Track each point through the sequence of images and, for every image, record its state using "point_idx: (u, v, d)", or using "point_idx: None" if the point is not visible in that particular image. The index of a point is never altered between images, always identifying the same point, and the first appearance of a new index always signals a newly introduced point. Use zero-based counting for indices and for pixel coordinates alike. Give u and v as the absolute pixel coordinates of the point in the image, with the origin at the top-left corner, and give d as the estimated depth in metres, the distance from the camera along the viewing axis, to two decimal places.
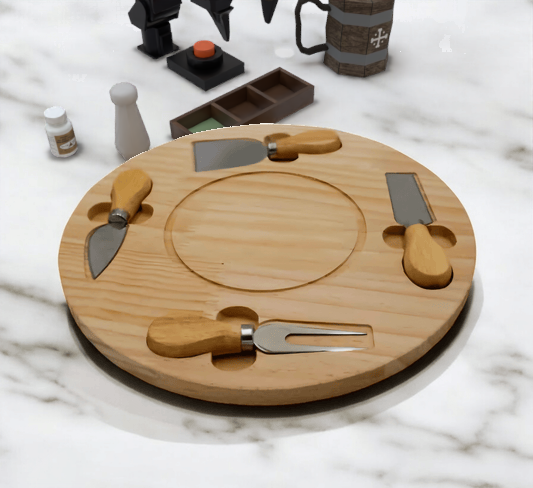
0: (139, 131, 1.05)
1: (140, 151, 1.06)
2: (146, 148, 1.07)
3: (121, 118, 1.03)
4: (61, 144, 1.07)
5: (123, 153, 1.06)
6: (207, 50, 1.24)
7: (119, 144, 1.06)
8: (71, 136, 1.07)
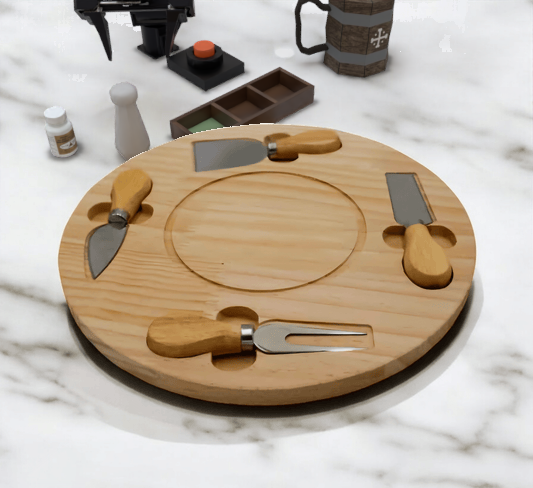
0: (139, 131, 1.05)
1: (140, 151, 1.06)
2: (146, 148, 1.07)
3: (121, 118, 1.03)
4: (61, 144, 1.07)
5: (123, 153, 1.06)
6: (207, 50, 1.24)
7: (119, 144, 1.06)
8: (71, 136, 1.07)
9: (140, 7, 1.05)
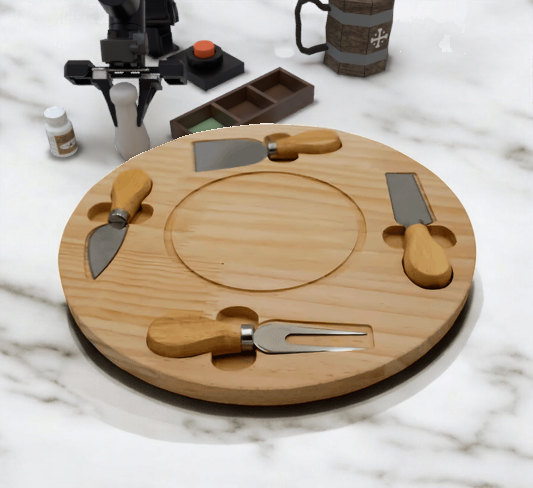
0: (139, 131, 1.05)
1: (140, 151, 1.06)
2: (146, 148, 1.07)
3: (121, 118, 1.03)
4: (61, 144, 1.07)
5: (123, 153, 1.06)
6: (207, 50, 1.24)
7: (119, 144, 1.06)
8: (71, 136, 1.07)
9: None
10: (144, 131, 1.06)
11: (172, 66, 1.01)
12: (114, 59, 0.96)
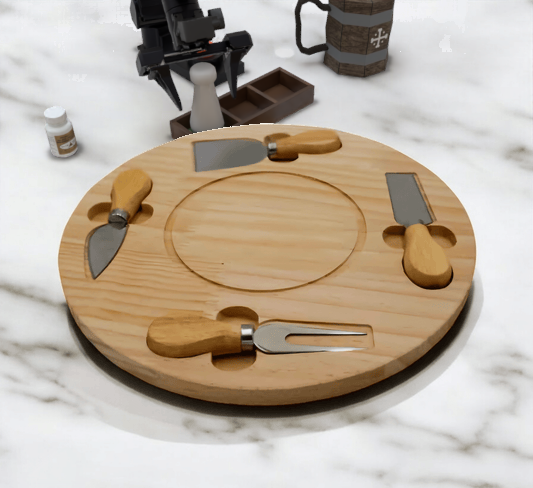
0: (218, 108, 1.08)
1: None
2: (223, 124, 1.11)
3: (204, 97, 1.05)
4: (61, 144, 1.07)
5: None
6: None
7: (200, 124, 1.08)
8: (71, 136, 1.07)
9: (199, 54, 1.06)
10: None
11: (242, 37, 1.05)
12: (200, 37, 0.99)
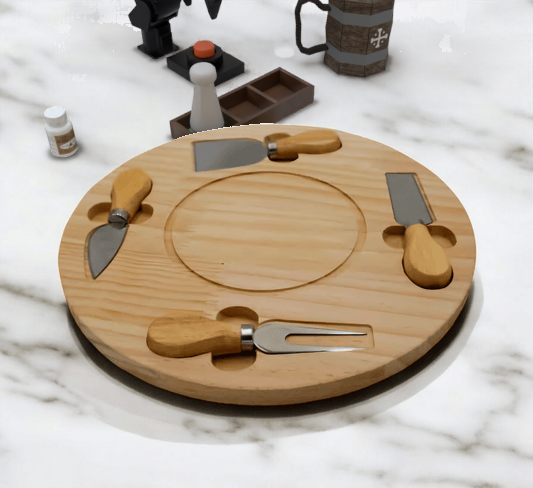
0: (218, 108, 1.08)
1: None
2: (223, 124, 1.11)
3: (204, 97, 1.05)
4: (61, 144, 1.07)
5: None
6: (207, 50, 1.24)
7: (200, 125, 1.08)
8: (71, 136, 1.07)
9: None
10: None
11: None
12: None
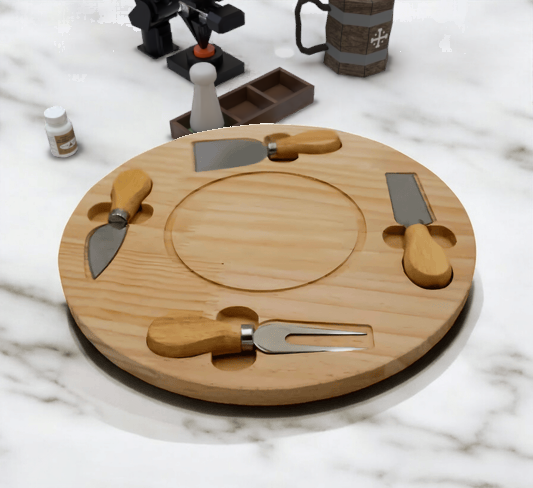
0: (218, 108, 1.08)
1: None
2: (223, 124, 1.11)
3: (204, 97, 1.05)
4: (61, 144, 1.07)
5: None
6: (208, 53, 1.24)
7: (200, 125, 1.08)
8: (71, 136, 1.07)
9: None
10: None
11: None
12: None
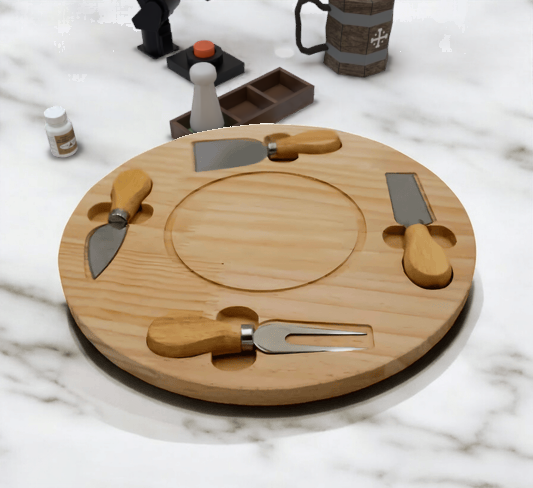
0: (218, 108, 1.08)
1: None
2: (223, 124, 1.11)
3: (204, 97, 1.05)
4: (61, 144, 1.07)
5: None
6: (207, 50, 1.24)
7: (200, 125, 1.08)
8: (71, 136, 1.07)
9: None
10: None
11: None
12: None
